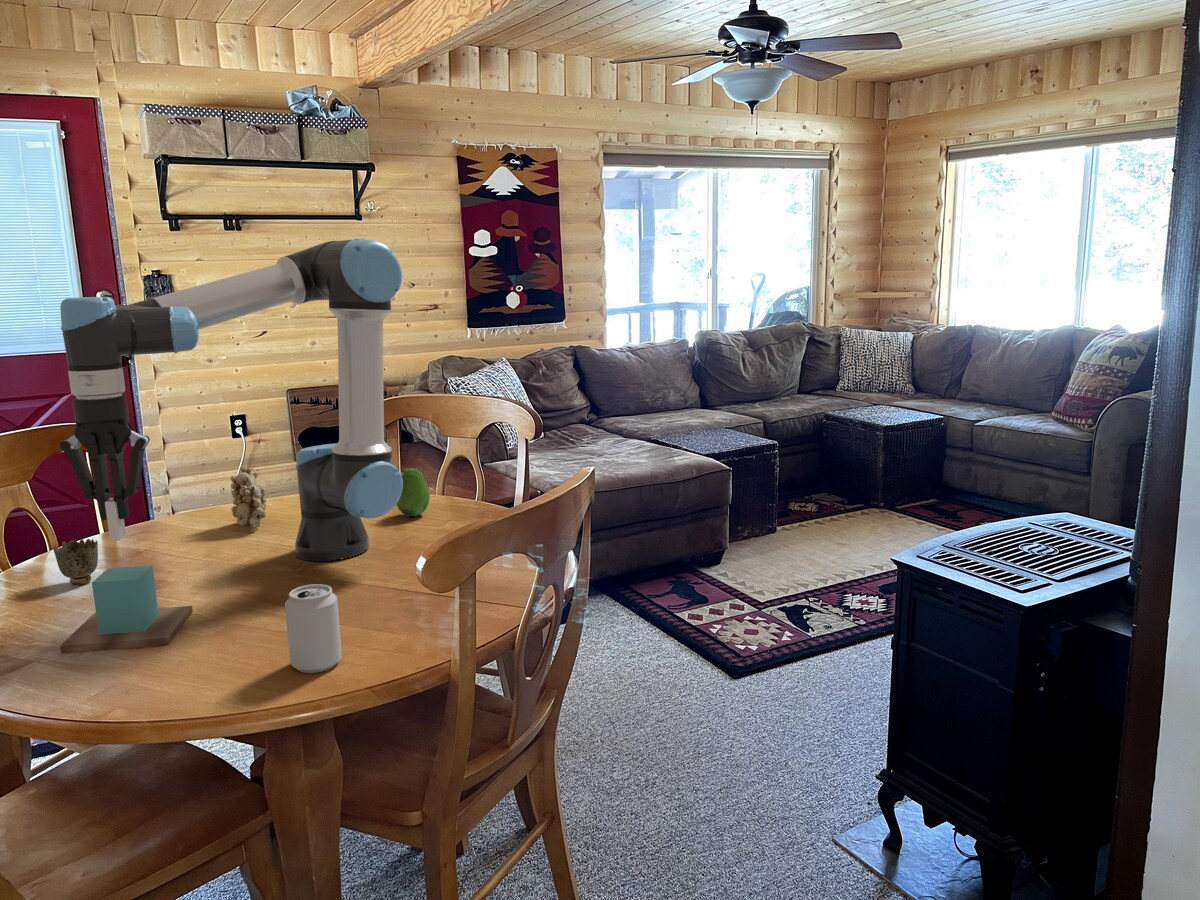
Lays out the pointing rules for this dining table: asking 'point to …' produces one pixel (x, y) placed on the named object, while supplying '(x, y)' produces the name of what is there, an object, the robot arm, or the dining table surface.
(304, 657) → the can
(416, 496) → the fruit
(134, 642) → the peg base
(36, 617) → the dining table surface
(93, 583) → the teal toy cube
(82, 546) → the cup
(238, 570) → the dining table surface
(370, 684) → the dining table surface
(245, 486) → the mineral formation
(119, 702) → the dining table surface
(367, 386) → the robot arm
